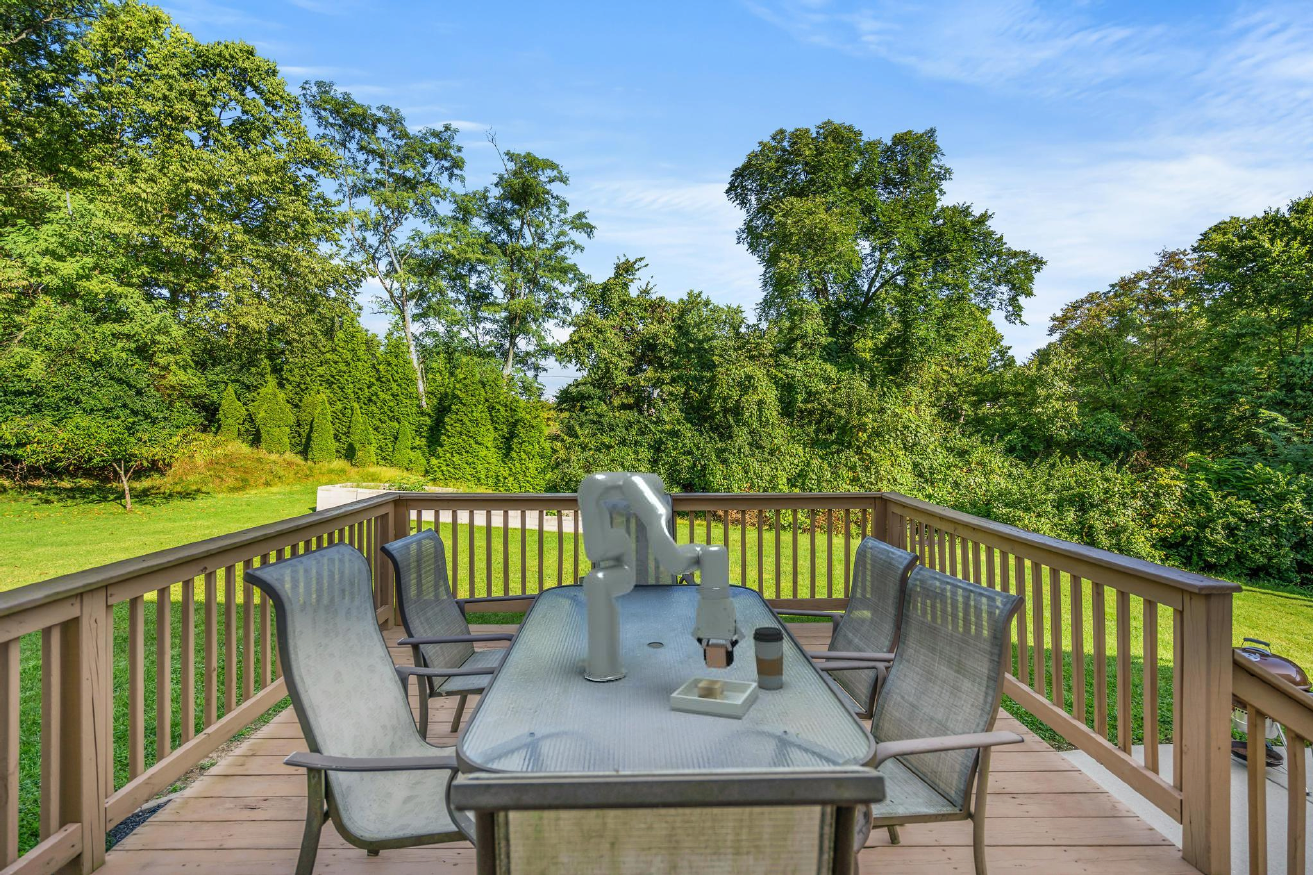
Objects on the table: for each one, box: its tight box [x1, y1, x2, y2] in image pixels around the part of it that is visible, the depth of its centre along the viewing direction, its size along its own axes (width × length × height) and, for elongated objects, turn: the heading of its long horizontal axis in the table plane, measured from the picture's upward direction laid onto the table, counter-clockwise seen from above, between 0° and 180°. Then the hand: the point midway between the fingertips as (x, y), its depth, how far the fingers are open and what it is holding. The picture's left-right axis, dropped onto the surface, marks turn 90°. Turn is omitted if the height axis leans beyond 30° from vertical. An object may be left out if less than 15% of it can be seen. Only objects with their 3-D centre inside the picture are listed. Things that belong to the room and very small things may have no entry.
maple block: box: [698, 680, 724, 701], centre depth 156 cm, size 5×5×5 cm
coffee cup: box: [752, 626, 784, 691], centre depth 171 cm, size 8×8×15 cm
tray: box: [669, 675, 759, 720], centre depth 159 cm, size 18×16×4 cm
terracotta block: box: [706, 642, 728, 670], centre depth 162 cm, size 5×5×5 cm
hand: (719, 663), depth 162 cm, fingers closed on terracotta block, 5 cm apart
